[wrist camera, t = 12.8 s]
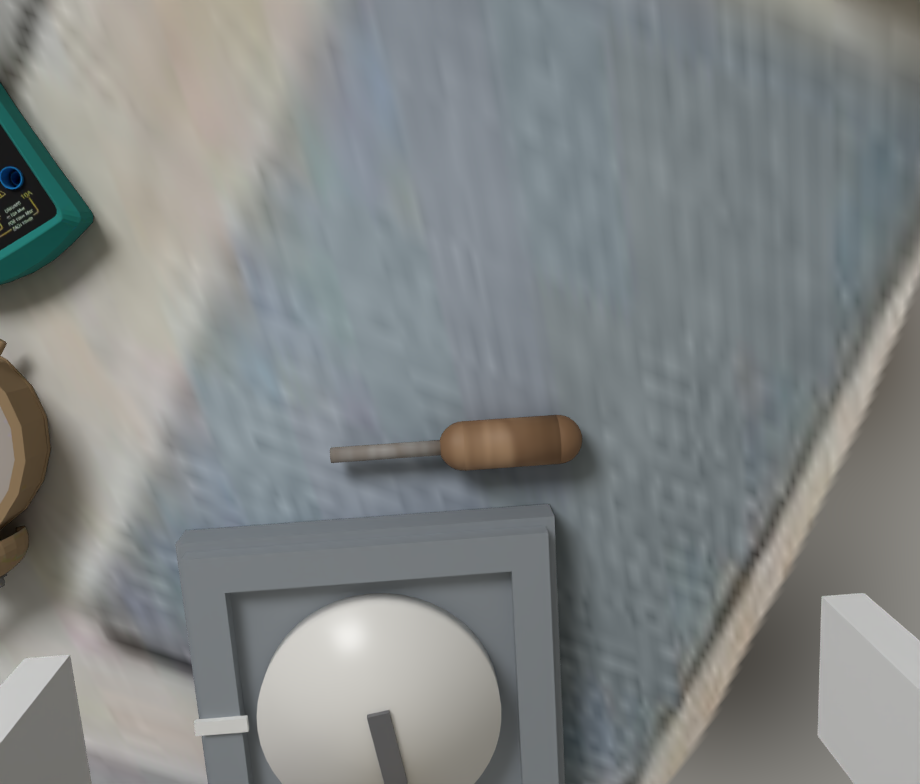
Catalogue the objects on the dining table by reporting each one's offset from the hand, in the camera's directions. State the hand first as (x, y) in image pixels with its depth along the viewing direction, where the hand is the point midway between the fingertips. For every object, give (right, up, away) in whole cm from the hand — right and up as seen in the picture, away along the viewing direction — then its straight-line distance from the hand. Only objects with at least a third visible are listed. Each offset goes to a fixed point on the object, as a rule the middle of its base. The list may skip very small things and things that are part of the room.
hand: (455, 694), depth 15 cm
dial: (-4, -12, +32) cm, 35 cm away
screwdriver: (0, +3, +32) cm, 32 cm away
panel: (-4, -11, +35) cm, 37 cm away
